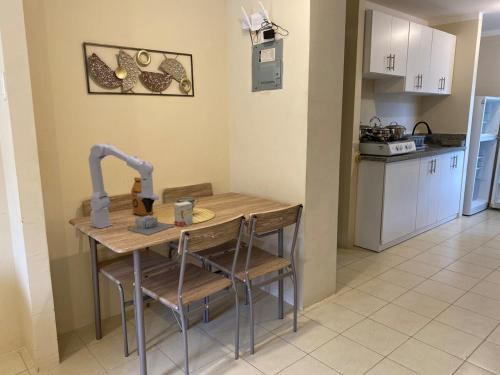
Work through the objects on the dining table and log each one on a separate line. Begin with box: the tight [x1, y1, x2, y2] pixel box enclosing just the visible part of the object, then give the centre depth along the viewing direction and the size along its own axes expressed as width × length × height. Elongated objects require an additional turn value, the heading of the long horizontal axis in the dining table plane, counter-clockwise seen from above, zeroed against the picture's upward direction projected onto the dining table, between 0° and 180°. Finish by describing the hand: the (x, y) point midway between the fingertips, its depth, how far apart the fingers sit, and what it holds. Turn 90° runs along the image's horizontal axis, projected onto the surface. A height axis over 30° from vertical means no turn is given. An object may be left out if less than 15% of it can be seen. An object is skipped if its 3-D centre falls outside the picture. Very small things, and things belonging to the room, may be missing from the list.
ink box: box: [173, 201, 194, 228], centre depth 197 cm, size 9×5×12 cm, turn 135°
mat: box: [127, 221, 176, 236], centre depth 192 cm, size 16×18×1 cm
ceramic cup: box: [176, 196, 200, 215], centre depth 217 cm, size 13×10×10 cm
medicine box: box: [135, 215, 159, 229], centre depth 195 cm, size 8×4×9 cm
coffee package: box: [130, 176, 154, 217], centre depth 220 cm, size 10×12×22 cm
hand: (148, 212), depth 193 cm, fingers closed
